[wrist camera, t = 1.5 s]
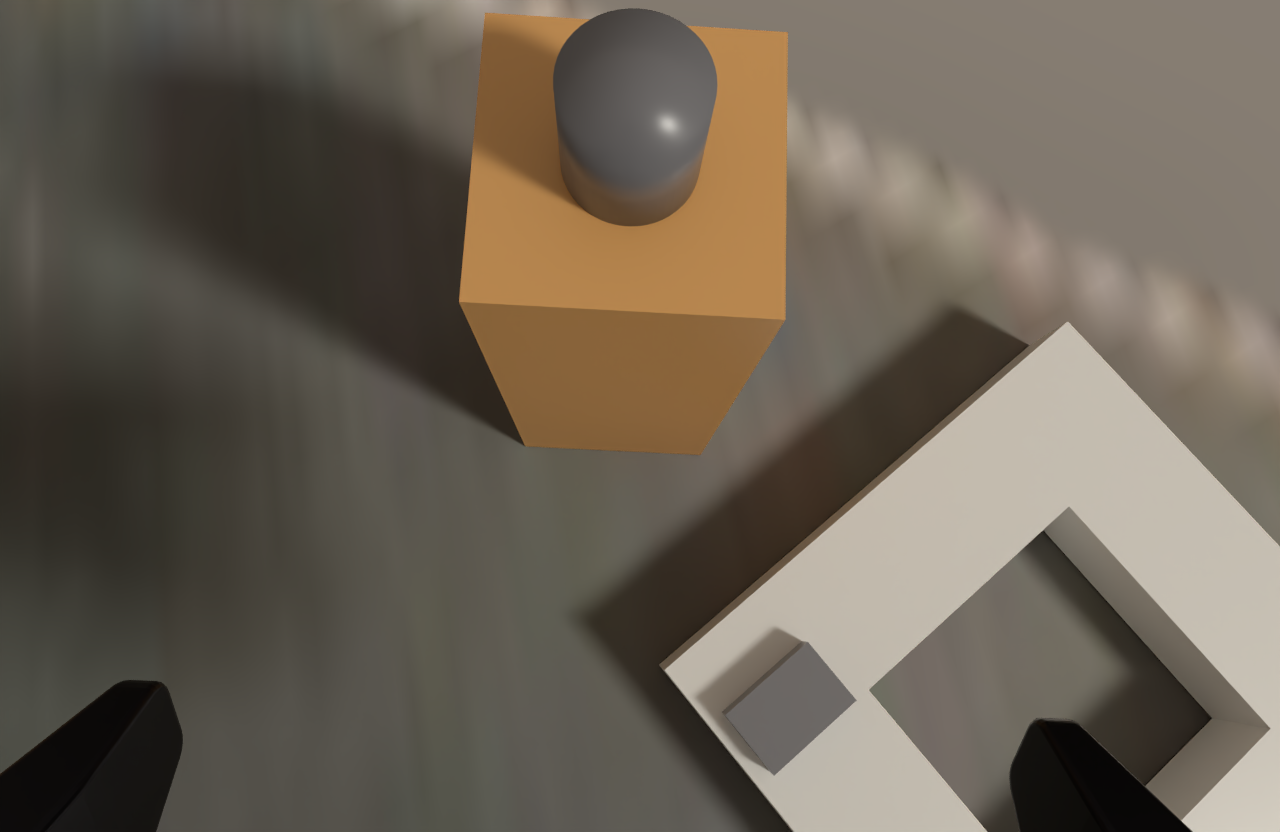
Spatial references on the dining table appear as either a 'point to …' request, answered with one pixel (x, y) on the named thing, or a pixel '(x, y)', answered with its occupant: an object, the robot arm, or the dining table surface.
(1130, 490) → the socket plate
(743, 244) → the plug
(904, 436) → the dining table surface
